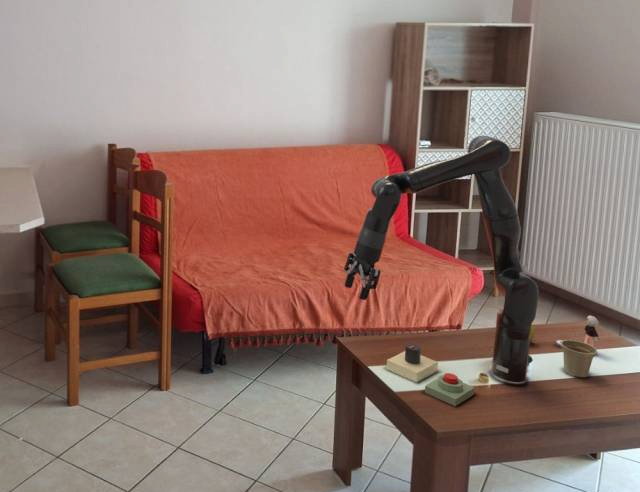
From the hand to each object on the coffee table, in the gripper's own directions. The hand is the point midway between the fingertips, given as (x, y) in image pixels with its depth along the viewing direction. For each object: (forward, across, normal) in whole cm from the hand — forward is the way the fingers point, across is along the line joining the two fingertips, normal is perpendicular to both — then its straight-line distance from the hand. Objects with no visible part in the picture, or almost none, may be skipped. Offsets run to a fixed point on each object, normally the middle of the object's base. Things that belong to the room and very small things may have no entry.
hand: (355, 293), depth 208 cm
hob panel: (+20, -5, -24) cm, 31 cm away
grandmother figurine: (+6, -4, -88) cm, 89 cm away
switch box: (+18, -19, -26) cm, 37 cm away
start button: (+15, -19, -25) cm, 35 cm away
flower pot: (+9, -15, -73) cm, 75 cm away
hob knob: (+17, -5, -23) cm, 29 cm away
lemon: (+10, +6, -73) cm, 74 cm away
